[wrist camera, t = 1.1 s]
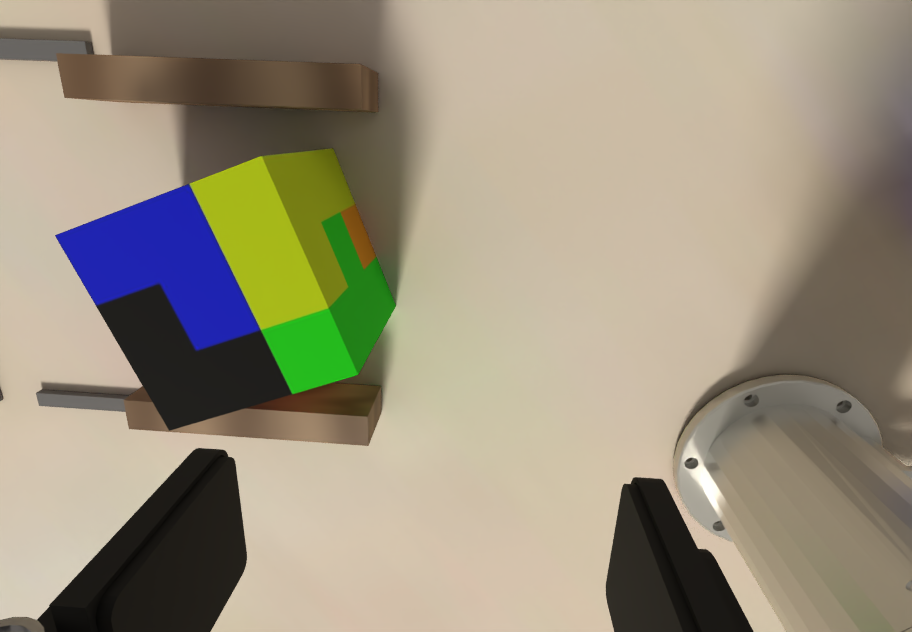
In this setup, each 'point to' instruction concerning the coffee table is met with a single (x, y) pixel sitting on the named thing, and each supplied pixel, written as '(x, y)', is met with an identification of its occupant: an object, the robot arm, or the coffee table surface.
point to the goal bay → (47, 52)
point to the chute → (262, 86)
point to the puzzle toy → (237, 285)
